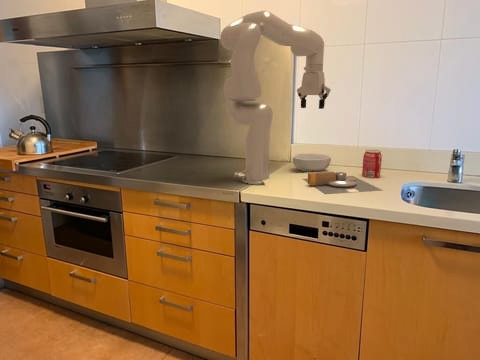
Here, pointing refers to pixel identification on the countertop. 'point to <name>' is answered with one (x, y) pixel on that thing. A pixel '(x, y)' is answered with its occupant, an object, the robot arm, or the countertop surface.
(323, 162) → the cereal bowl
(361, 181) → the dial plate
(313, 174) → the dial
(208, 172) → the countertop surface
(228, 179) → the countertop surface
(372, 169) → the soda can
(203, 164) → the countertop surface
